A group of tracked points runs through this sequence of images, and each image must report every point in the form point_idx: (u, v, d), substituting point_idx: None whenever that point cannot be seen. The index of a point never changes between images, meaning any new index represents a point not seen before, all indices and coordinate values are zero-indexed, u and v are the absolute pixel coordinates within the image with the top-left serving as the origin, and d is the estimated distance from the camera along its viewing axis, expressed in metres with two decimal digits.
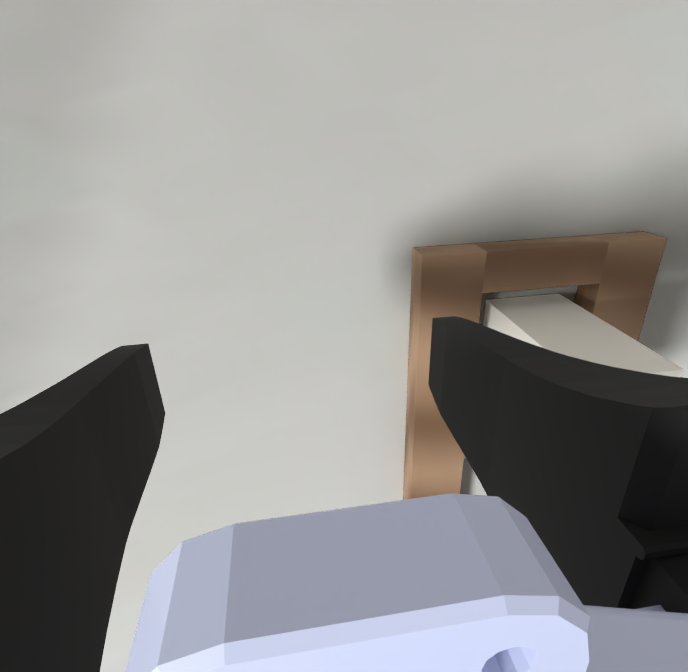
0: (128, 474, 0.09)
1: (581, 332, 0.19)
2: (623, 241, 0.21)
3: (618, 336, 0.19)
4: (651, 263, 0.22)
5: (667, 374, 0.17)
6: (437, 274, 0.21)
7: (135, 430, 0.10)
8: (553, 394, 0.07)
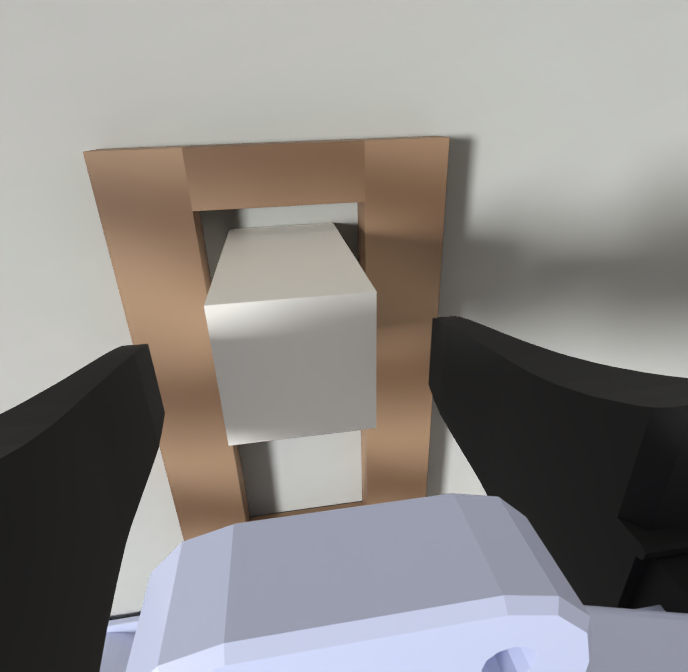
0: (128, 474, 0.09)
1: (295, 256, 0.14)
2: (386, 140, 0.15)
3: (341, 258, 0.13)
4: (435, 174, 0.16)
5: (351, 299, 0.11)
6: (115, 180, 0.15)
7: (135, 430, 0.10)
8: (554, 395, 0.07)
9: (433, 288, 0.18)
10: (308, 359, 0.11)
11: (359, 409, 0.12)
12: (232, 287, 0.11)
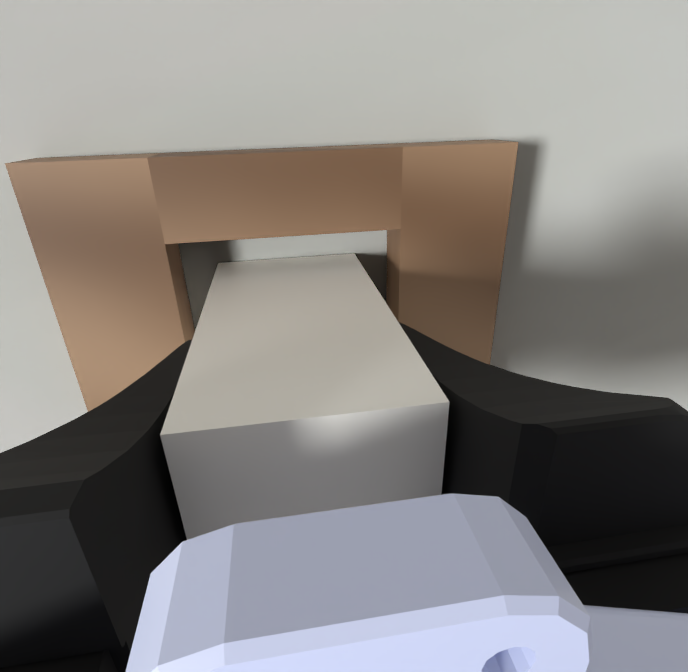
0: None
1: (309, 317, 0.09)
2: (433, 146, 0.11)
3: (378, 322, 0.09)
4: (495, 192, 0.12)
5: (407, 415, 0.06)
6: (53, 203, 0.10)
7: None
8: (457, 406, 0.07)
9: (485, 338, 0.14)
10: (334, 503, 0.07)
11: None
12: (212, 386, 0.07)
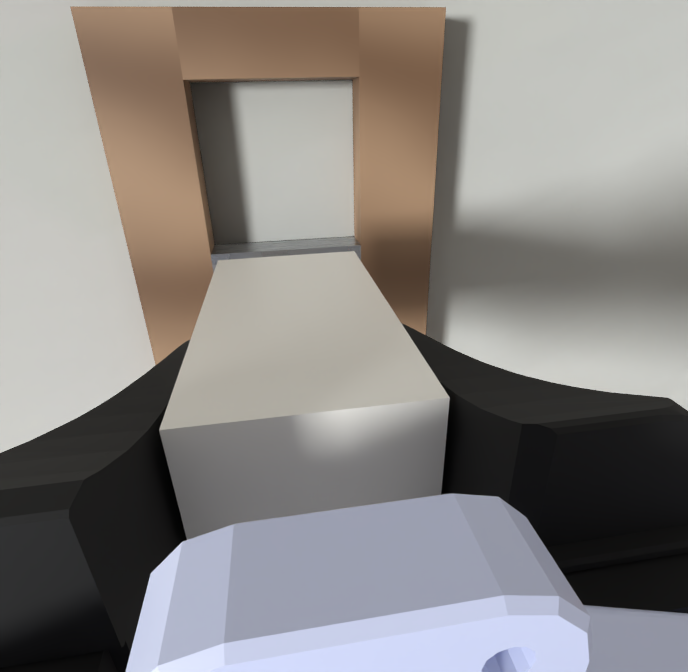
0: None
1: (309, 313, 0.09)
2: (381, 8, 0.15)
3: (378, 318, 0.09)
4: (430, 49, 0.16)
5: (407, 410, 0.06)
6: (103, 41, 0.14)
7: None
8: (457, 406, 0.07)
9: (429, 178, 0.18)
10: (334, 500, 0.07)
11: None
12: (210, 383, 0.07)
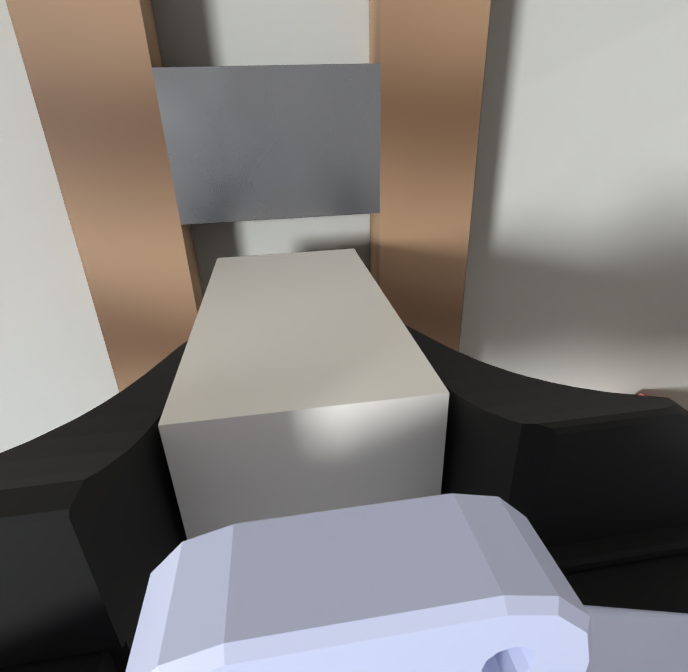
0: None
1: (309, 310, 0.09)
2: None
3: (378, 314, 0.09)
4: None
5: (407, 405, 0.06)
6: None
7: None
8: (457, 406, 0.07)
9: None
10: (334, 495, 0.07)
11: None
12: (210, 378, 0.07)
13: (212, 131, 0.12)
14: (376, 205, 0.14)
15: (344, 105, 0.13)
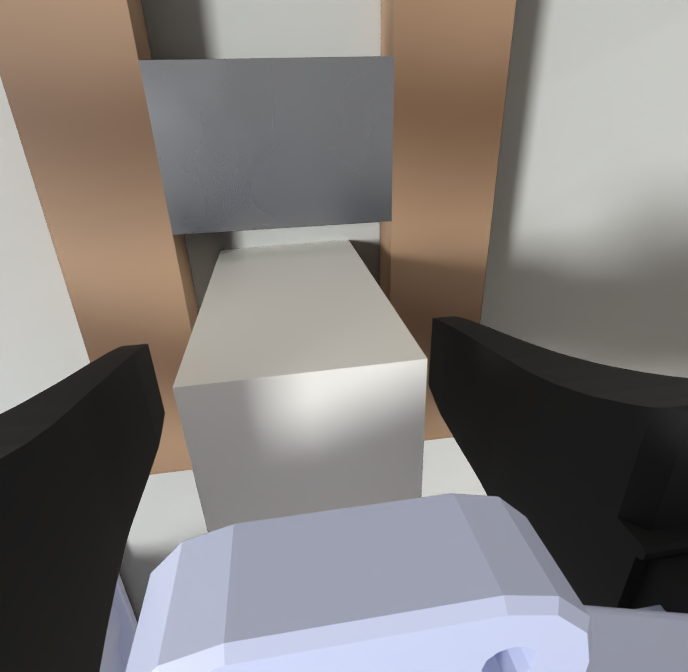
0: (128, 474, 0.09)
1: (305, 293, 0.10)
2: None
3: (367, 297, 0.10)
4: None
5: (390, 370, 0.07)
6: None
7: (135, 430, 0.10)
8: (554, 395, 0.07)
9: None
10: (327, 453, 0.08)
11: None
12: (217, 350, 0.08)
13: (207, 132, 0.11)
14: (387, 213, 0.13)
15: (353, 103, 0.11)
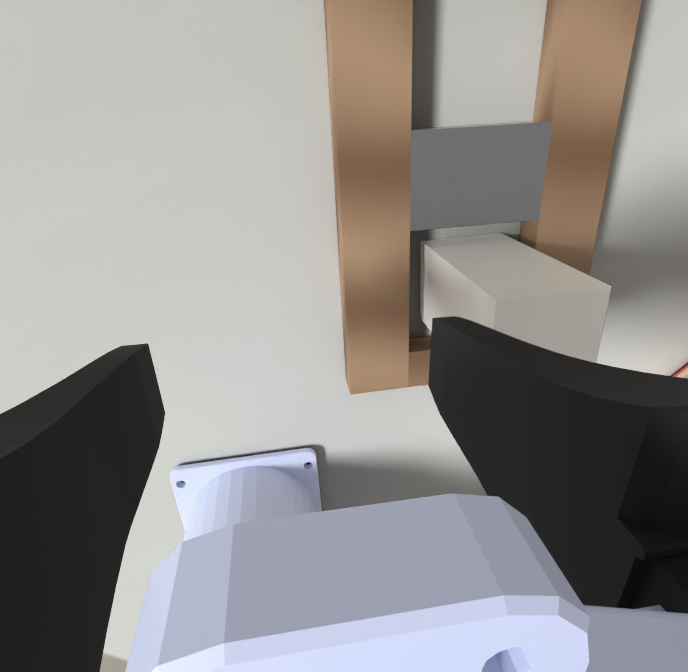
0: (128, 474, 0.09)
1: (511, 262, 0.18)
2: None
3: (551, 262, 0.17)
4: None
5: (593, 292, 0.15)
6: None
7: (135, 430, 0.10)
8: (554, 395, 0.07)
9: (626, 48, 0.18)
10: (555, 338, 0.15)
11: None
12: (497, 287, 0.16)
13: (441, 169, 0.19)
14: (537, 214, 0.20)
15: (525, 149, 0.19)
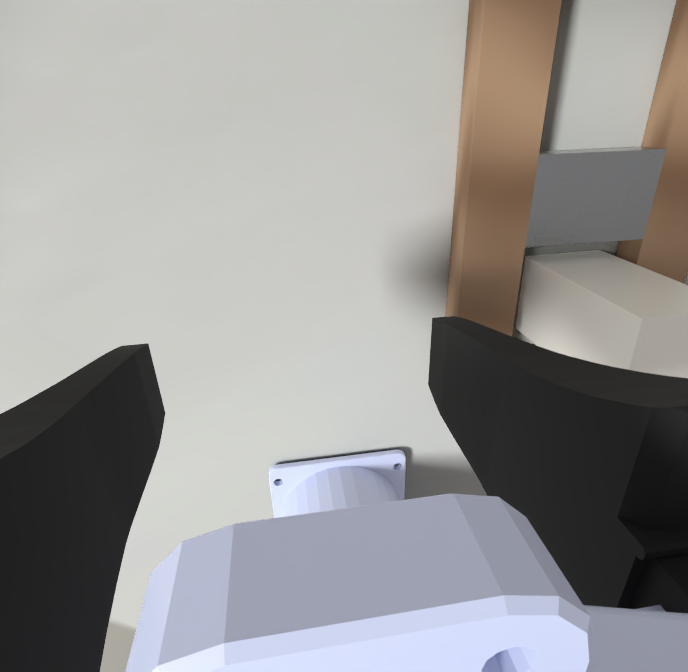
0: (128, 474, 0.09)
1: (630, 280, 0.19)
2: None
3: (669, 282, 0.19)
4: None
5: None
6: None
7: (135, 430, 0.10)
8: (554, 395, 0.07)
9: None
10: (687, 354, 0.17)
11: None
12: (634, 305, 0.17)
13: (561, 190, 0.20)
14: (642, 234, 0.22)
15: (639, 173, 0.20)
